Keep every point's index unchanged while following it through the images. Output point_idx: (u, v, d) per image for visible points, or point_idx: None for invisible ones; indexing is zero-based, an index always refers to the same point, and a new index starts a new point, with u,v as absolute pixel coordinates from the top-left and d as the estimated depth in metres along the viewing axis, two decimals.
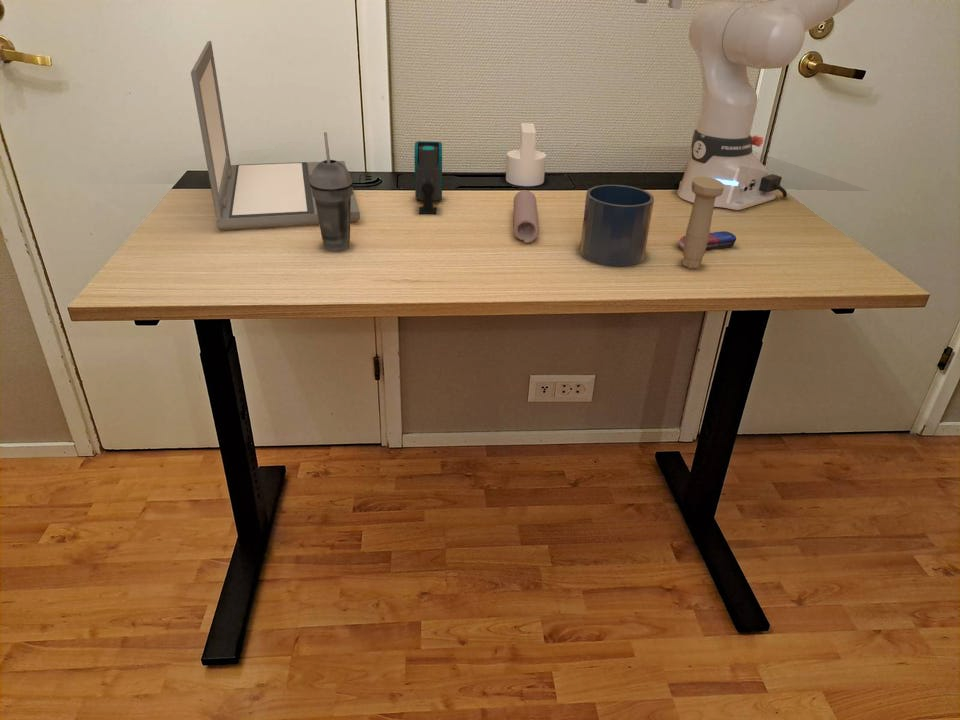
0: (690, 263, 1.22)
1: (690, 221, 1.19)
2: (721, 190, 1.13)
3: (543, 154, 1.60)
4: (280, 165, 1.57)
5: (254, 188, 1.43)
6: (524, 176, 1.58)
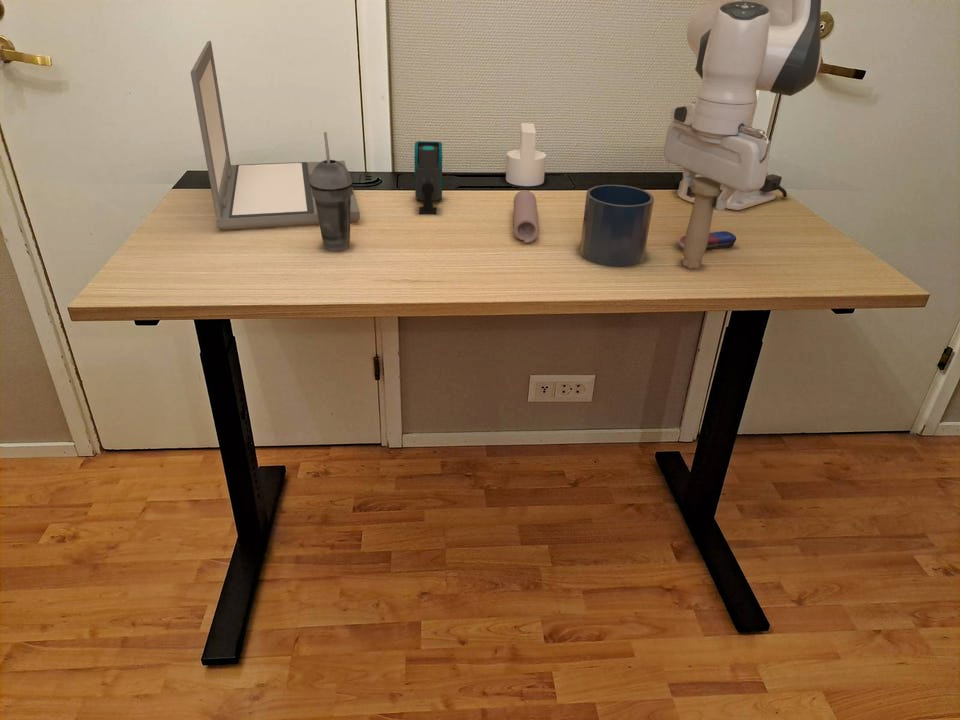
0: (690, 263, 1.21)
1: (690, 221, 1.19)
2: (721, 190, 1.13)
3: (543, 154, 1.60)
4: (280, 165, 1.57)
5: (254, 188, 1.43)
6: (524, 176, 1.58)
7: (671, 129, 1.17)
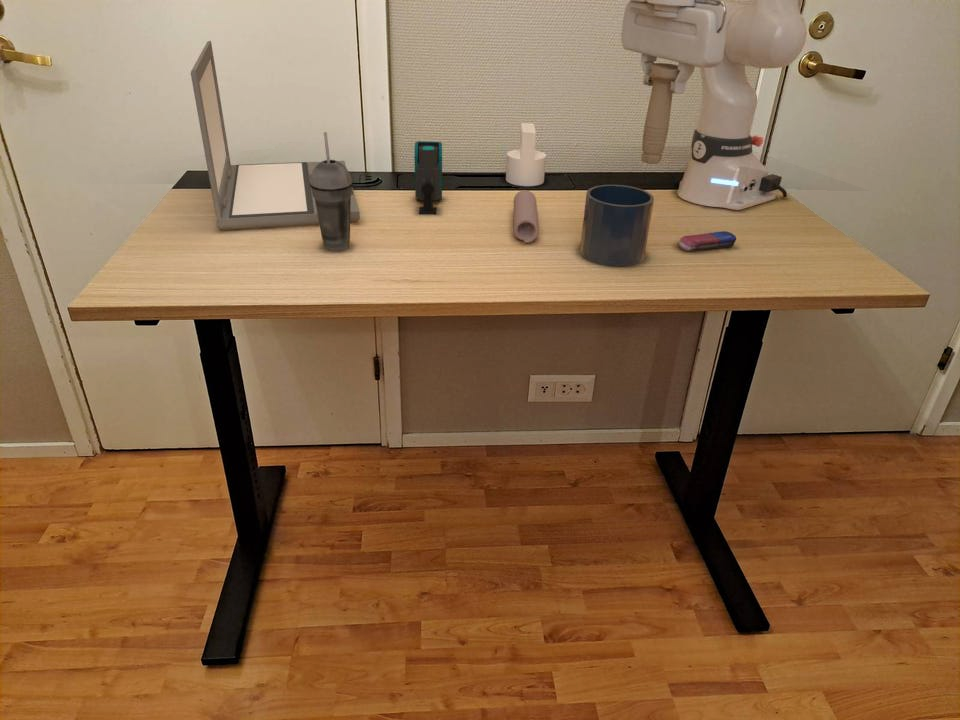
0: (649, 158, 1.15)
1: (648, 110, 1.12)
2: None
3: (543, 154, 1.60)
4: (280, 165, 1.57)
5: (254, 188, 1.43)
6: (524, 176, 1.58)
7: (627, 11, 1.10)
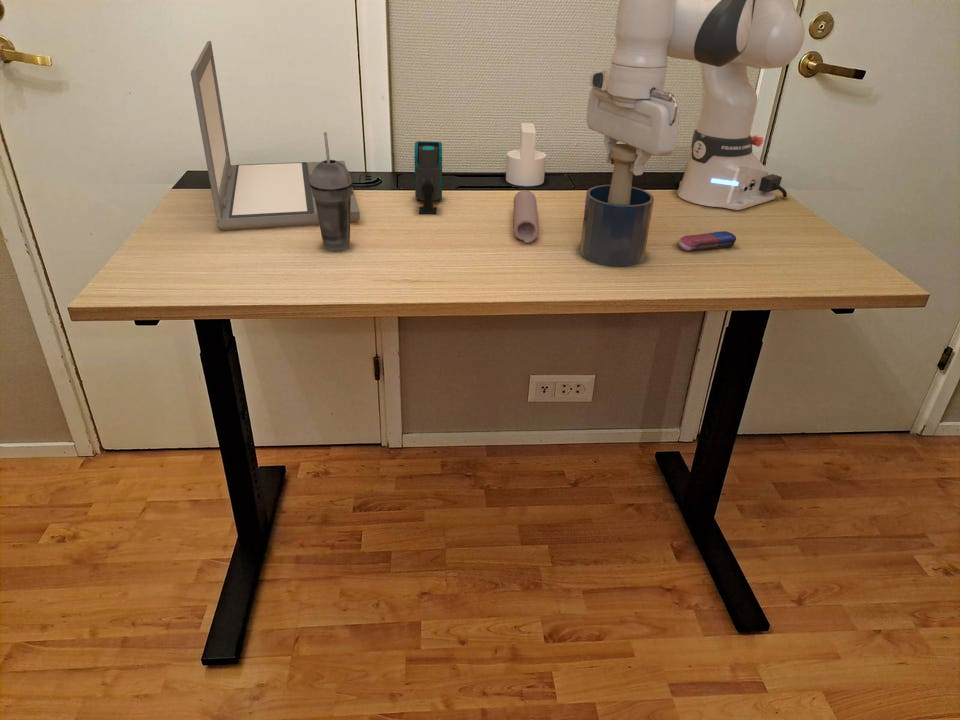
0: None
1: (610, 187, 1.20)
2: None
3: (543, 154, 1.60)
4: (280, 165, 1.57)
5: (254, 188, 1.43)
6: (524, 176, 1.58)
7: (591, 96, 1.19)
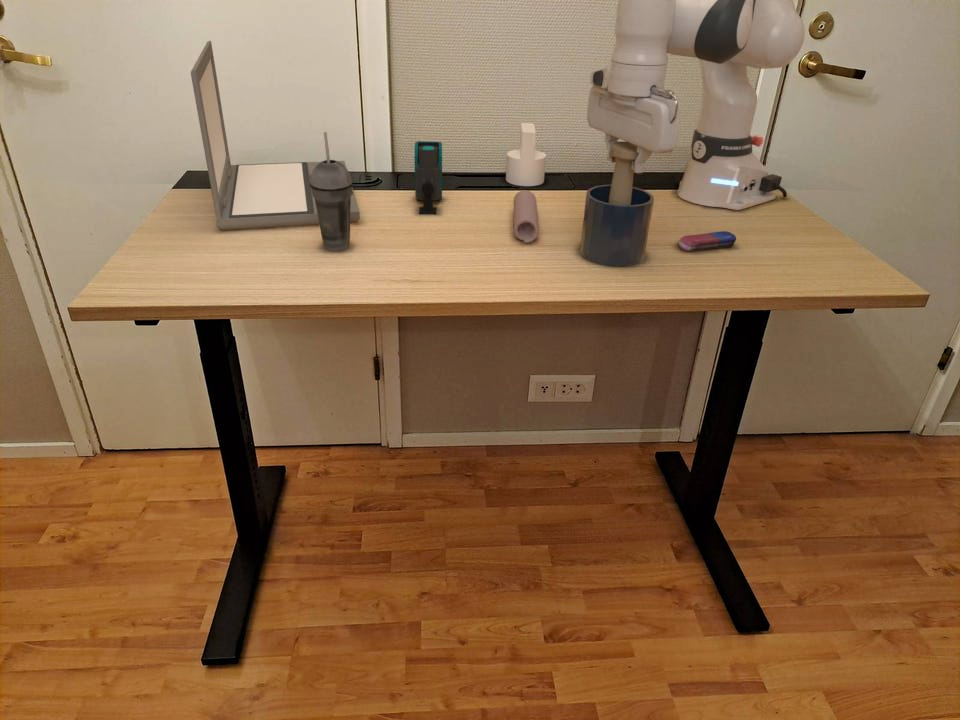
0: None
1: (611, 185, 1.20)
2: (638, 153, 1.15)
3: (543, 154, 1.60)
4: (280, 165, 1.57)
5: (254, 188, 1.43)
6: (524, 176, 1.58)
7: (591, 94, 1.18)
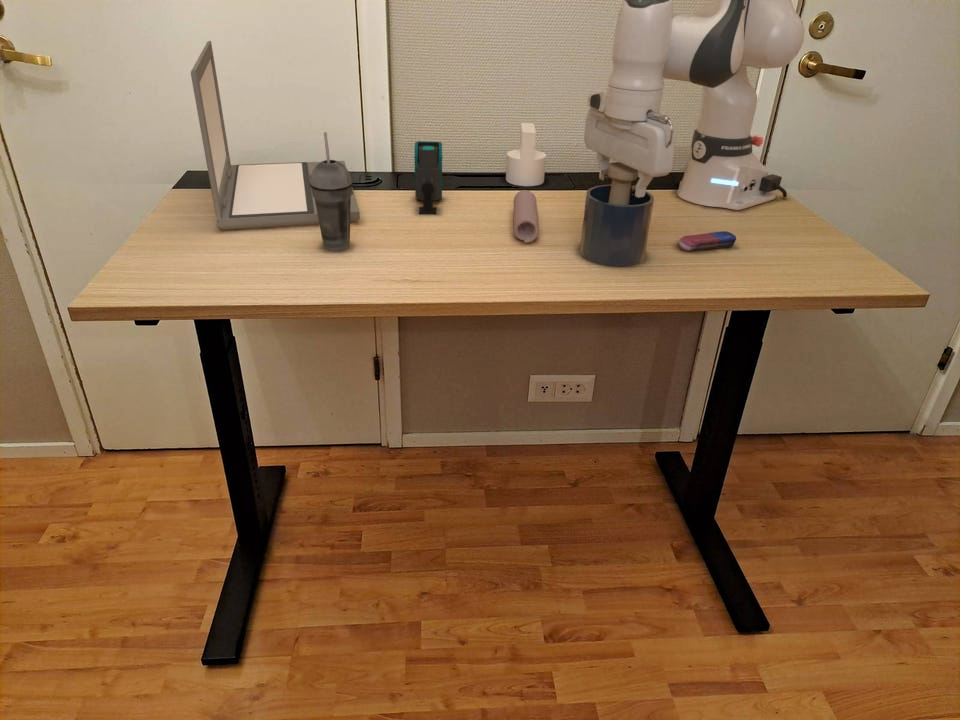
0: None
1: None
2: (634, 174, 1.16)
3: (543, 154, 1.60)
4: (280, 165, 1.57)
5: (254, 188, 1.43)
6: (524, 176, 1.58)
7: (588, 116, 1.20)
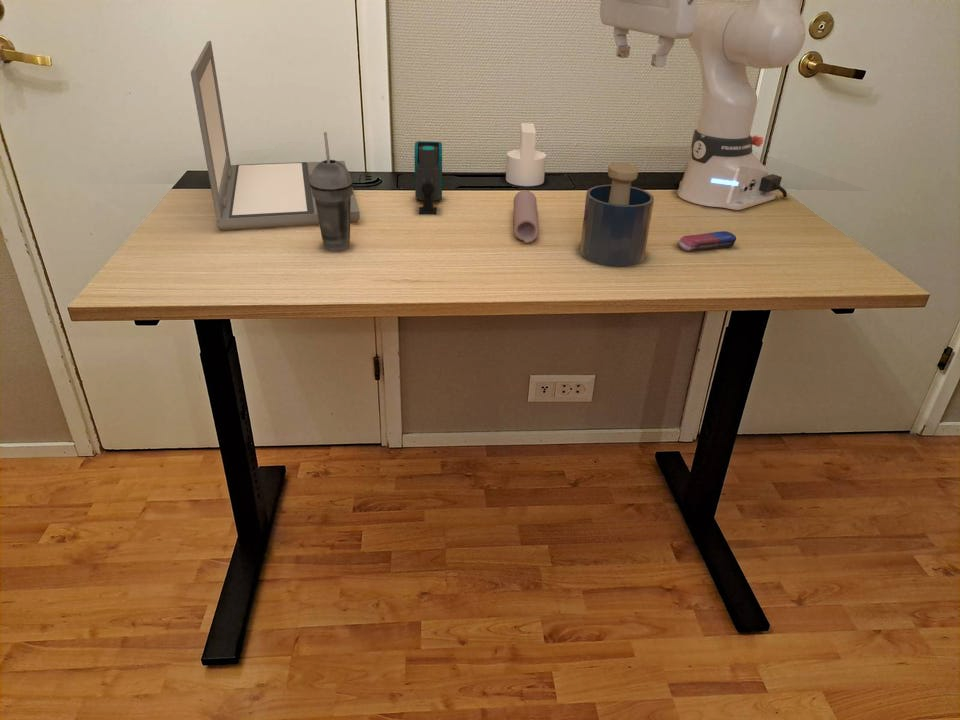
0: None
1: None
2: (634, 174, 1.16)
3: (543, 154, 1.60)
4: (280, 165, 1.57)
5: (254, 188, 1.43)
6: (524, 176, 1.58)
7: None
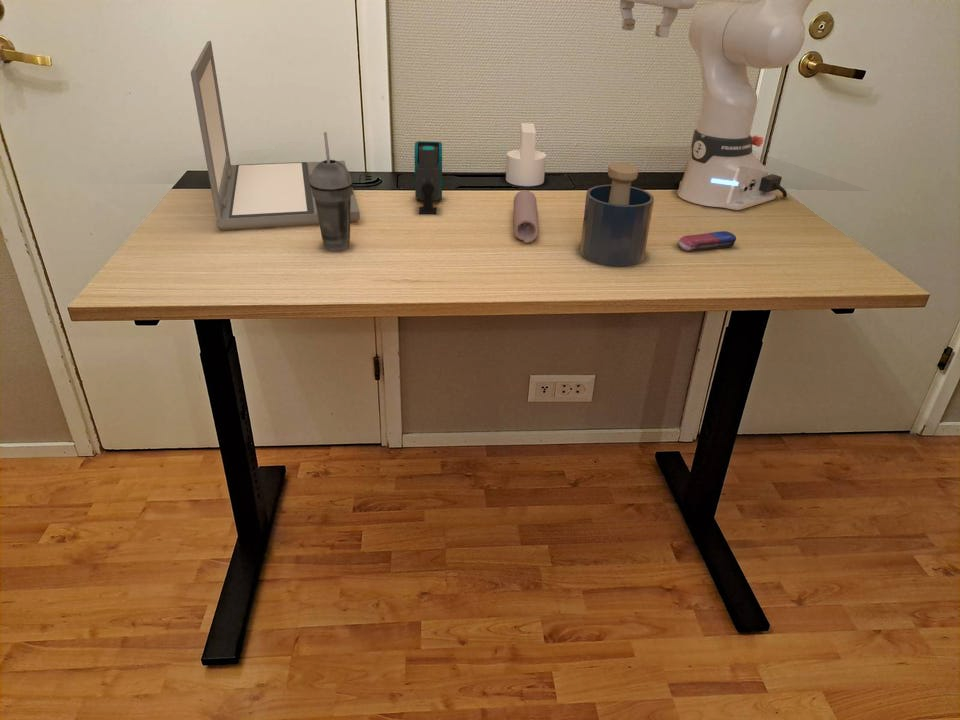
0: None
1: None
2: (634, 174, 1.16)
3: (543, 154, 1.60)
4: (280, 165, 1.57)
5: (254, 188, 1.43)
6: (524, 176, 1.58)
7: None
